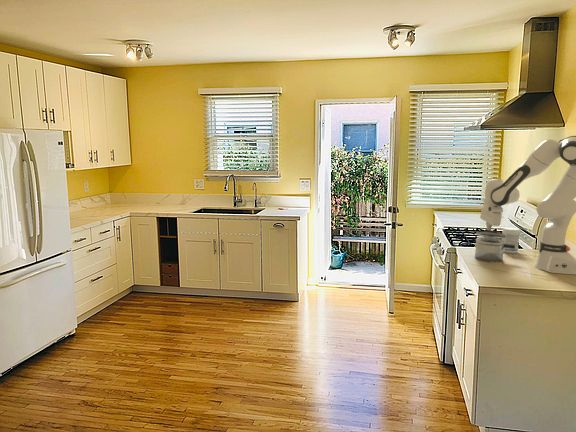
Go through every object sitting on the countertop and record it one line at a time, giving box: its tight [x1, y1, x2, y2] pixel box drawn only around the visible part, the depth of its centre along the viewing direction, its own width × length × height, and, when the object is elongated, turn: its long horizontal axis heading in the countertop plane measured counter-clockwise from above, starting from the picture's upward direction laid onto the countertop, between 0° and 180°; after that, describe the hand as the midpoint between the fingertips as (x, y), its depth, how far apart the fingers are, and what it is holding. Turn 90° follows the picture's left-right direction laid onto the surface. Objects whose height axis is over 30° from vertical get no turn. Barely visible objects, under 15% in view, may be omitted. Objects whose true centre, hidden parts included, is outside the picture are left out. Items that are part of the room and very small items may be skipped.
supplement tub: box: [501, 226, 520, 254], centre depth 288 cm, size 10×10×15 cm
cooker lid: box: [476, 229, 506, 239], centre depth 270 cm, size 16×16×3 cm
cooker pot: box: [474, 236, 515, 263], centre depth 269 cm, size 21×16×11 cm
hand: (488, 229), depth 271 cm, fingers closed
